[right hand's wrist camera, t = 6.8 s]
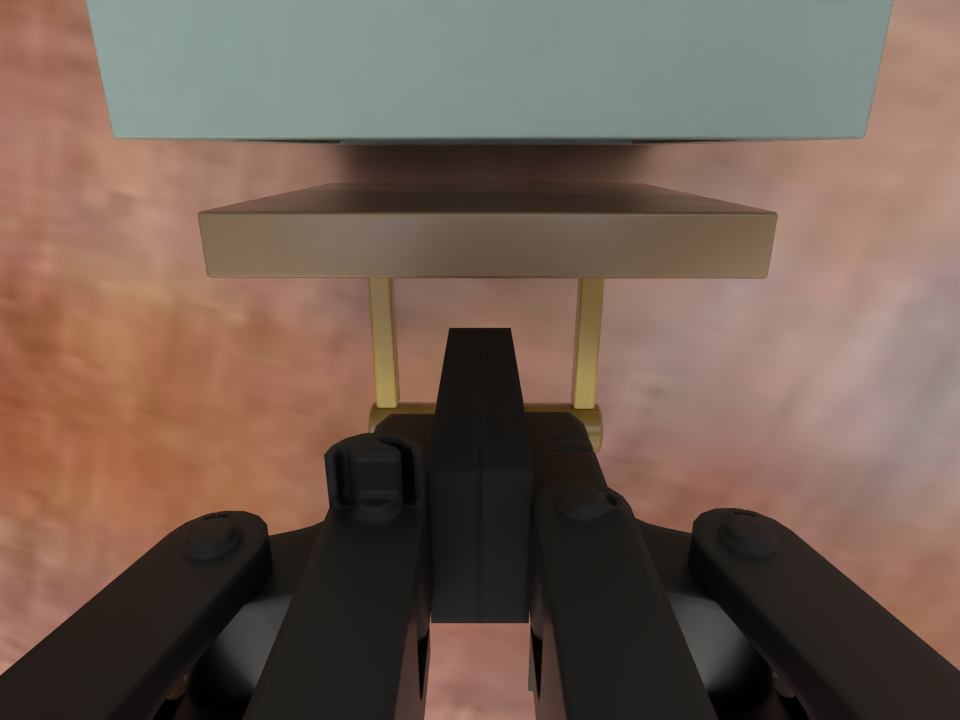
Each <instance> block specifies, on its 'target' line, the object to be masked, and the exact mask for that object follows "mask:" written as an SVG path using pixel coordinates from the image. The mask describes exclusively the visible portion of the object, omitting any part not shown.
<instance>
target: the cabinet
mask: <svg viewBox="0 0 960 720" xmlns="http://www.w3.org/2000/svg"><path fill="white" fill-rule="evenodd" d="M893 1H894V0H86V4H87V9H88V14H89V19H90V24H91V29H92V34H93V39H94V44H95V49H96V54H97V59H98V64H99V69H100V74H101V79H102V84H103V89H104V94H105V99H106V104H107V109H108V113H109V118H110V123H111V128H112V133H113V136H114V137H115V138H117V139H144V140H177V141H210V142H242V143H274V144H306V145H667V144H700V143H733V142H766V141H798V140H831V139H861V138H863V137H864V136H865V133H866V128H867V124H868V119H869V114H870V109H871V105H872V100H873V95H874V91H875V86H876V81H877V76H878V72H879V67H880V62H881V57H882V53H883V48H884V43H885V39H886V34H887V29H888V24H889V20H890V15H891V10H892V6H893Z"/></svg>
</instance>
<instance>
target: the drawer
mask: <svg viewBox="0 0 960 720" xmlns="http://www.w3.org/2000/svg"><path fill="white" fill-rule="evenodd" d="M777 217H778V215H777V213H776V212H772V211H768V210H763V209H758V208H754V207H749V206H744V205H740V204H735V203H730V202H726V201H721V200H716V199H712V198H707V197H702V196H698V195H693V194H688V193H684V192H679V191H674V190H670V189H665V188H660V187H656V186H651V185H646V184H455V183H330V184H326V185H321V186H317V187H312V188H307V189H303V190H298V191H293V192H289V193H284V194H279V195H275V196H270V197H265V198H261V199H256V200H252V201H247V202H242V203H238V204H233V205H228V206H224V207H219V208H214V209H210V210H205V211H201V212H199V213H198V220H199V226H200V232H201V238H202V244H203V251H204V257H205V263H206V269H207V275H208V276H209V277H215V278H368V283H369V298H370V313H371V328H372V343H373V358H374V373H375V388H376V403H373V405H372V407H371V410H370V416H369V433H374V430H375V427H376V425H377V424H379V423H380V422H381V421H382V420H384V419H385V418H386V417H388V416H389V415H390V414H435V410H436V404H437V403H414V402H399V400H400V391H399V372H398V353H397V333H396V314H395V294H394V278H578V292H577V309H576V326H575V343H574V360H573V377H572V394H571V401H572V403H523V404H524V410H525V412H570V413H571V414H573V415H574V416H575V417H576V418H578V419H579V420H580V421H581V422H583V423H584V425H585V428H586V430H587V433H588V436H589V440H590V441H591V444H592V446H593V452H595V453H597V452H599V451H600V448H601V444H602V436H603V425H602V415H601V410H600V407H599V405H598V404H596V403H595V395H596V382H597V368H598V355H599V341H600V328H601V314H602V301H603V287H604V278H733V279H763V278H766V277H767V275H768V269H769V263H770V257H771V252H772V246H773V240H774V234H775V228H776V222H777Z"/></svg>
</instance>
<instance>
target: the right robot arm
mask: <svg viewBox="0 0 960 720" xmlns="http://www.w3.org/2000/svg"><path fill="white" fill-rule="evenodd" d="M324 458H325V468H326V477H327V486H328V496H329V505H330V508H329V510H328V513H327V515H326V517H325V520H324V521H323V522H320V523H318V524H316V525H313V526H310V527H307V528H303V529H299V530H295V531H290V532H285V533H280V534H275V535H271V536H269V535H268V528H267V524H266V523H265V522H264V521H263V520H262V519H261V518H260V517H259V516H257V515H254V514H251V513H248V512H245V511H222V512H218V513H210V514H206V515H204V516H201V517H199V518H196V519H194V520H191V521H189V522H186V523H185V524H183V525H181V526H180V527H178V528H177V529H175V530H174V531H172V532H171V533H169V534H168V535H167V536H166V537H164V538H163V539H162V540H161V541H160V542H158V543H157V544H156V545H155V546H154V547H153V548H151V549H150V550H149V551H148V552H147V553H145V554H144V555H143V556H142V557H141V558H139V559H138V560H137V561H136V562H135V563H134V564H132V565H131V566H130V567H129V568H128V569H126V570H125V571H124V572H123V573H122V574H120V575H119V576H118V577H117V578H116V579H114V580H113V581H112V582H111V583H110V584H109V585H107V586H106V587H105V588H104V589H103V590H101V591H100V592H99V593H98V594H97V595H95V596H94V597H93V598H92V599H91V600H90V601H88V602H87V603H86V604H85V605H84V606H82V607H81V608H80V609H79V610H78V611H76V612H75V613H74V614H73V615H72V616H71V617H69V618H68V619H67V620H66V621H65V622H63V623H62V624H61V625H60V626H59V627H57V628H56V629H55V630H54V631H53V632H52V633H50V634H49V635H48V636H47V637H46V638H44V639H43V640H42V641H41V642H40V643H38V644H37V645H36V646H35V647H34V648H33V649H31V650H30V651H29V652H28V653H27V654H25V655H24V656H23V657H22V658H21V659H19V660H18V661H17V662H16V663H15V664H14V665H12V666H11V667H10V668H9V669H8V670H6V671H5V672H4V673H3V674H2V675H0V720H424V714H425V704H426V693H427V682H428V672H429V661H430V629H429V624H430V614H431V623H529V611H530V621H531V629H530V655H529V681H528V691H533V692H534V703H535V713H536V720H960V671H959V670H958V669H957V668H955V667H954V666H953V665H952V664H951V663H949V662H948V661H947V660H946V659H945V658H943V657H942V656H941V655H940V654H939V653H937V652H936V651H935V650H934V649H933V648H931V647H930V646H929V645H928V644H927V643H925V642H924V641H923V640H922V639H921V638H920V637H918V636H917V635H916V634H915V633H914V632H912V631H911V630H910V629H909V628H908V627H906V626H905V625H904V624H903V623H902V622H900V621H899V620H898V619H897V618H896V617H894V616H893V615H892V614H891V613H890V612H888V611H887V610H886V609H885V608H884V607H882V606H881V605H880V604H879V603H878V602H876V601H875V600H874V599H873V598H872V597H870V596H869V595H868V594H867V593H866V592H864V591H863V590H862V589H861V588H860V587H858V586H857V585H856V584H855V583H854V582H852V581H851V580H850V579H849V578H848V577H846V576H845V575H844V574H843V573H842V572H840V571H839V570H838V569H837V568H836V567H834V566H833V565H832V564H831V563H830V562H828V561H827V560H826V559H825V558H824V557H822V556H821V555H820V554H819V553H818V552H816V551H815V550H814V549H813V548H812V547H810V546H809V545H808V544H807V543H806V542H804V541H803V540H802V539H801V538H800V537H798V536H797V535H796V534H795V533H794V532H792V531H791V530H790V529H788V528H787V527H785V526H783V525H782V524H780V523H779V522H777V521H776V520H774V519H771V518H769V517H766V516H764V515H761V514H758V513H756V512H753V511H749V510H743V509H736V508H719V509H713V510H710V511H707V512H704V513H701V514H700V515H699V516H698V517H697V519H696V520H695V521H694V522H693V528H692V533H688V532H683V531H678V530H673V529H668V528H663V527H659V526H655V525H652V524H648V523H646V522H643V521H641V520H639V519H636V518H635V516H634V514H633V512H632V509H631V507H630V505H629V504H628V503H627V501H626V500H625V499H624V497H623V496H622V495H620V494H618V493H617V492H615V491H614V490H612V489H610V488H608V486H607V484H606V481H605V478H604V476H603V473H602V470H601V468H600V465H599V462H598V460H597V457H596V454H595V452H593V446H592V444H591V441H590V440H589V436H588V433H587V430H586V428H585V425H584V423H583V422H581V421H580V420H579V419H578V418H576V417H575V416H574V415H573V414H571V413H570V412H525V410H524V404H523V398H522V392H521V386H520V380H519V374H518V369H517V363H516V357H515V351H514V345H513V339H512V333H511V328H449V333H448V339H447V345H446V351H445V357H444V363H443V369H442V374H441V380H440V386H439V392H438V398H437V404H436V410H435V414H390V415H389V416H388V417H386V418H385V419H384V420H382V421H381V422H380V423H379V424H377V425H376V427H375V430H374V433H364V434H360V435H356V436H353V437H349V438H346V439H344V440H342V441H340V442H338V443H336V444H335V445H333V446H332V447H331V448H330V449H329V450H328V451H327V452H326V453H325V454H324Z"/></svg>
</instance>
